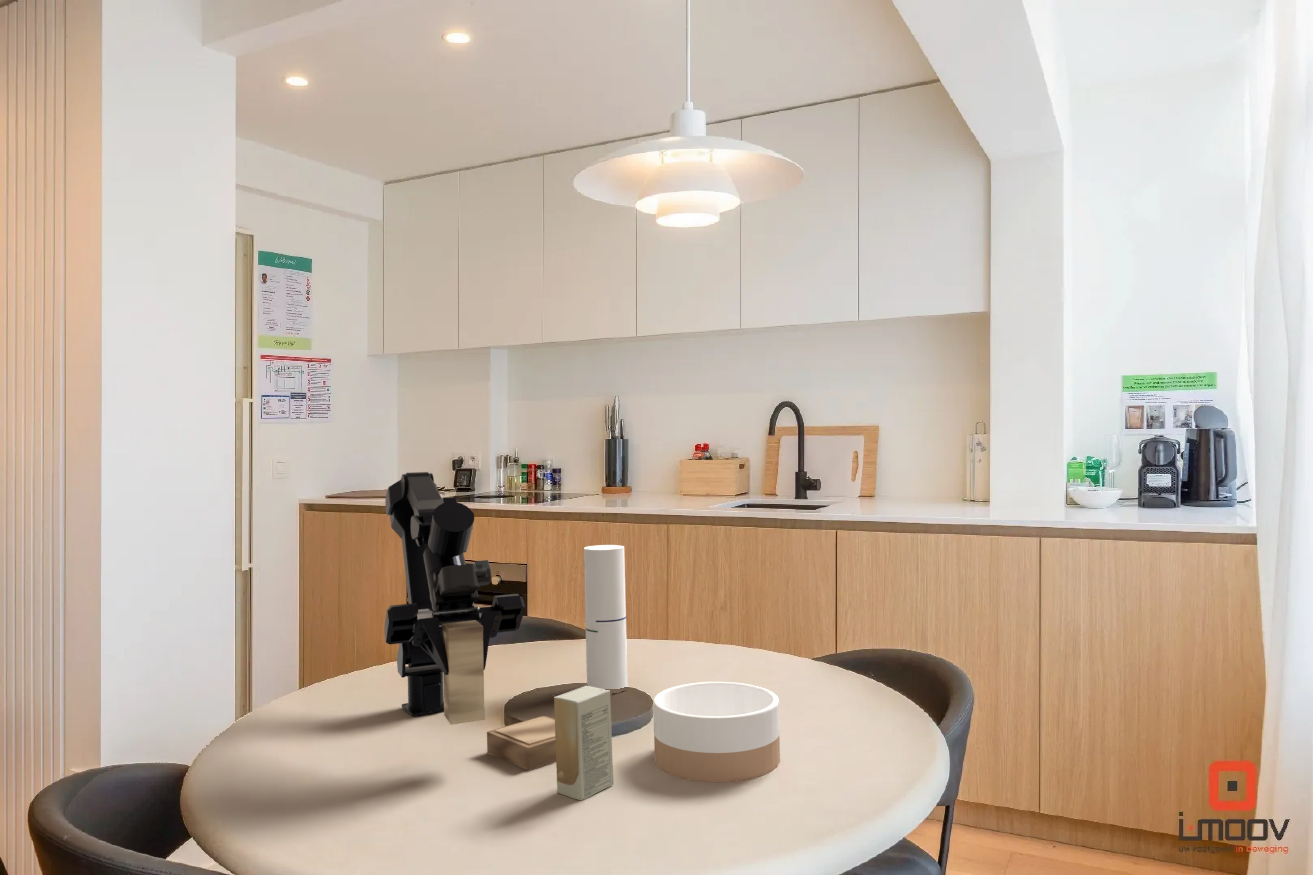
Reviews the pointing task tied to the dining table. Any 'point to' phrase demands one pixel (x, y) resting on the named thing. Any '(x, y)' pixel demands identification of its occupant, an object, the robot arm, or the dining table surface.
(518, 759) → the plinth
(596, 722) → the skincare box
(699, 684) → the bowl
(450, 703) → the oak block
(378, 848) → the dining table surface
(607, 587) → the cylindrical container
